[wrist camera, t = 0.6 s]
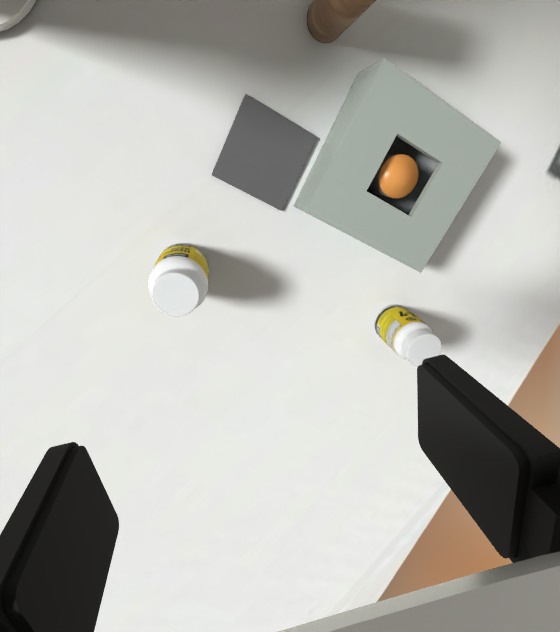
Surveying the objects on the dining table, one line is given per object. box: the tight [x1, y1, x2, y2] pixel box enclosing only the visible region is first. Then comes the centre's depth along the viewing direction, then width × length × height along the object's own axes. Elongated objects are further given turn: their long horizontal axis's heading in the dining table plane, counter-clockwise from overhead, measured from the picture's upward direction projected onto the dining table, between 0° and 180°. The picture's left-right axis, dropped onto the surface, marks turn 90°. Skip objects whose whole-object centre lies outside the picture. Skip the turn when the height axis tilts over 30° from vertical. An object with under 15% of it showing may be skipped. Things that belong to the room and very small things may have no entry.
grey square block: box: [294, 58, 501, 272], centre depth 39 cm, size 14×14×6 cm
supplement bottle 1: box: [148, 243, 209, 317], centre depth 37 cm, size 5×5×10 cm
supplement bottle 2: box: [374, 305, 442, 367], centre depth 45 cm, size 5×5×8 cm
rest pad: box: [212, 94, 317, 211], centre depth 38 cm, size 8×8×1 cm
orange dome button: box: [370, 154, 418, 198], centre depth 38 cm, size 4×4×3 cm
